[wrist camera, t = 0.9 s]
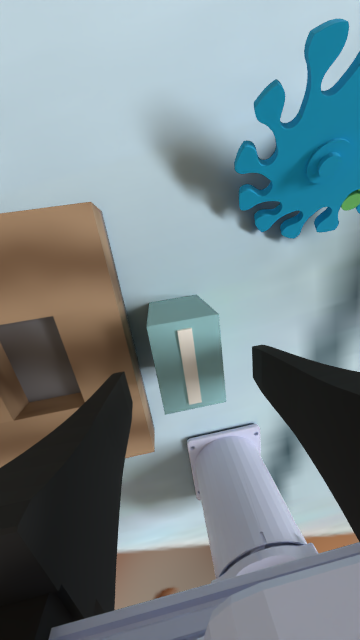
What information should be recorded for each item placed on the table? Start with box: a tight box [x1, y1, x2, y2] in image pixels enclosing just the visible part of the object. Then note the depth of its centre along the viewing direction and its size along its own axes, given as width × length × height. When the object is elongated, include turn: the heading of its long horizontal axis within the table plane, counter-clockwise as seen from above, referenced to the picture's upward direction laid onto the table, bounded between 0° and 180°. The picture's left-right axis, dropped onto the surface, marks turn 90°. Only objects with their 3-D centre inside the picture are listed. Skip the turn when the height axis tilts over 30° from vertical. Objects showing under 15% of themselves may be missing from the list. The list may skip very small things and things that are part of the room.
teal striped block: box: [147, 295, 226, 415], centre depth 14 cm, size 6×4×6 cm, turn 8°
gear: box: [234, 19, 360, 239], centre depth 12 cm, size 11×6×10 cm
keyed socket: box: [0, 202, 154, 468], centre depth 15 cm, size 20×14×2 cm
